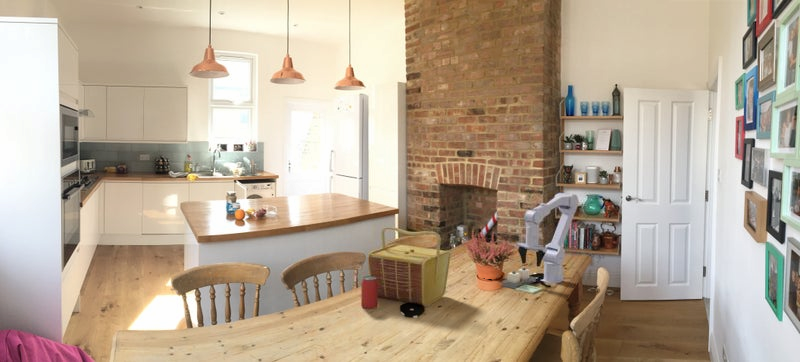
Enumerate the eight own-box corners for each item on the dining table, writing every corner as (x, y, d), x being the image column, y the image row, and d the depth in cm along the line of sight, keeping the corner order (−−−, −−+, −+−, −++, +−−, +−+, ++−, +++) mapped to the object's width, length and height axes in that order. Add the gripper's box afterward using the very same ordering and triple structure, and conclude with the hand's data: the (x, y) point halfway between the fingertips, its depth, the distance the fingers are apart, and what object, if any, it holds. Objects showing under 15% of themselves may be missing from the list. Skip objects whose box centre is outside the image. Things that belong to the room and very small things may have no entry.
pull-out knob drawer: (521, 281, 255) (522, 266, 254) (529, 282, 252) (529, 268, 251) (517, 282, 252) (518, 268, 251) (524, 284, 249) (525, 269, 248)
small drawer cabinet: (520, 279, 258) (521, 272, 257) (535, 282, 252) (535, 276, 252) (501, 286, 245) (501, 280, 244) (515, 290, 239) (516, 283, 239)
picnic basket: (452, 295, 231) (453, 228, 228) (425, 311, 209) (426, 237, 206) (395, 284, 246) (396, 221, 243) (364, 299, 224) (365, 230, 221)
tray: (525, 287, 245) (525, 284, 245) (541, 290, 239) (541, 288, 239) (515, 290, 239) (515, 288, 238) (532, 294, 233) (532, 292, 233)
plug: (511, 284, 248) (512, 270, 247) (519, 286, 245) (519, 271, 245) (507, 286, 245) (507, 271, 244) (514, 288, 242) (515, 273, 242)
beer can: (375, 309, 210) (375, 280, 209) (359, 308, 212) (359, 279, 210) (379, 304, 217) (379, 276, 216) (363, 303, 218) (363, 275, 217)
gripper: (514, 235, 246) (513, 263, 247) (542, 239, 236) (541, 269, 237) (521, 233, 251) (520, 260, 252) (549, 237, 241) (548, 266, 242)
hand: (531, 264), depth 245 cm, fingers open, 7 cm apart
